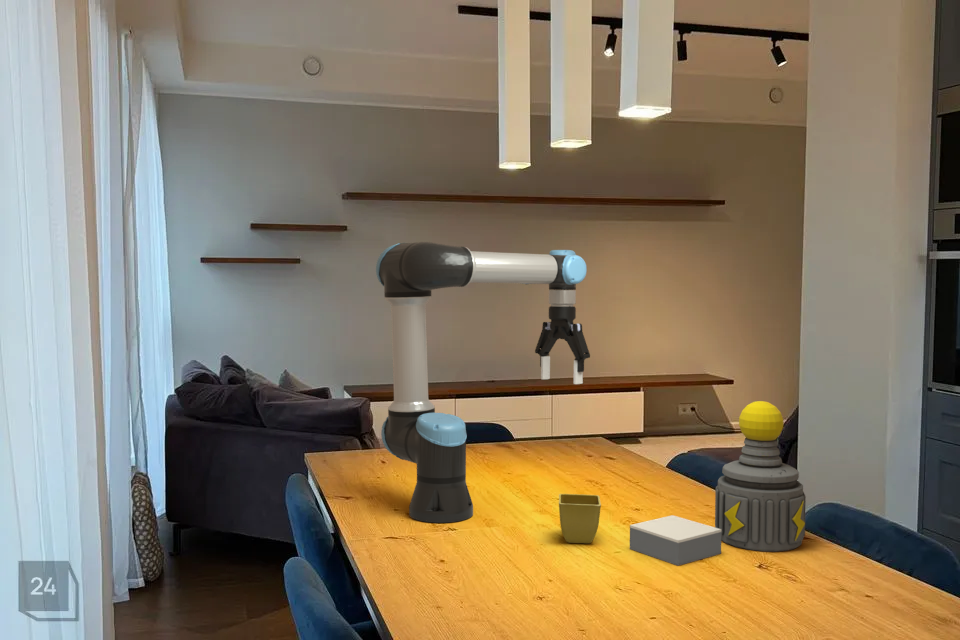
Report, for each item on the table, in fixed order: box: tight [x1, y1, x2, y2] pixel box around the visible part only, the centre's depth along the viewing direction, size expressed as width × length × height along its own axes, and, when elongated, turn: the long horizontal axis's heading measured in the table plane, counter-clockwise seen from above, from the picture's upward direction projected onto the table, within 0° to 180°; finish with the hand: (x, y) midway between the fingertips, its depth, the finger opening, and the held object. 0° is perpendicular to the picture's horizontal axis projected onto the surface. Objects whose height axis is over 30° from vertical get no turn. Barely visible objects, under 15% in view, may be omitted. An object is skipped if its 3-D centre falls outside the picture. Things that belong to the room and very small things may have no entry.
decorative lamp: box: [714, 400, 807, 553], centre depth 185 cm, size 19×19×30 cm
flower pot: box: [558, 493, 602, 545], centre depth 185 cm, size 9×9×9 cm
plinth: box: [629, 515, 722, 566], centre depth 177 cm, size 13×13×5 cm
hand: (561, 381), depth 241 cm, fingers open, 13 cm apart
